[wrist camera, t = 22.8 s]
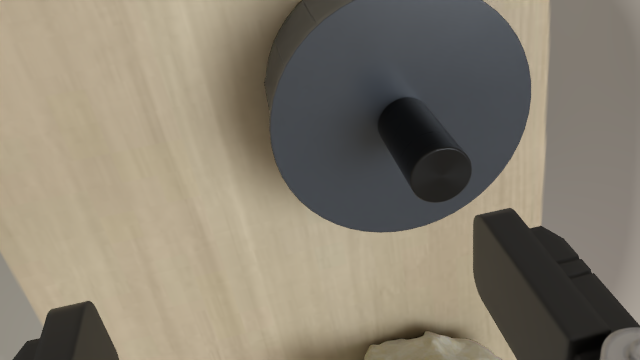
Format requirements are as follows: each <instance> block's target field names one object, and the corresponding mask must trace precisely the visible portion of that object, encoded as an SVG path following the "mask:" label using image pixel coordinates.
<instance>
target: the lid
mask: <svg viewBox="0 0 640 360" xmlns="http://www.w3.org/2000/svg"><path fill="white" fill-rule="evenodd" d="M530 101H531V79H530V72H529V65H528V62H527V59H526V55H525V52H524V49H523V47H522V45H521V43H520V41H519V39H518V37H517V35H516V34H515V32H514V31H513V29H512V28H511V26H510V25H509V23H508V22H507V21H506V20H505V19H504V18H503V17H502V16H501V15H500V14H499V13H498V12H497V11H496V10H495V9H493V8H492V7H491V6H489V5H488V4H487V3H485V2H484V1H482V0H348V1H346V2H344V3H342V4H341V5H339V6H337V7H336V8H335V9H333V10H332V11H330V12H329V13H328V14H326V15H325V16H324V17H322V18H321V19H320V20H319V21H318V22H317V23H316V24H315V25H314V26H313V27H312V28H310V29H309V30H308V31H307V33H306V34H305V35H304V36H303V37H302V39H301V40H300V41H299V42H298V43H297V45H296V46H295V47H294V49H293V51H292V52H291V54H290V55H289V57H288V59H287V60H286V62H285V64H284V66H283V68H282V70H281V72H280V75H279V77H278V79H277V82H276V86H275V89H274V92H273V95H272V101H271V107H270V116H269V131H270V140H271V147H272V150H273V154H274V158H275V161H276V164H277V167H278V169H279V171H280V173H281V176H282V178H283V179H284V181H285V182H286V184H287V185H288V187H289V189H290V190H291V191H292V192H293V193H294V195H295V196H296V197H297V198H298V199H299V200H300V201H301V202H302V203H303V204H304V205H305V206H307V207H308V208H309V209H310V210H311V211H313V212H315V213H316V214H318V215H319V216H321V217H322V218H324V219H326V220H328V221H331V222H333V223H335V224H337V225H340V226H343V227H347V228H350V229H355V230H360V231H366V232H396V231H403V230H409V229H413V228H417V227H421V226H425V225H427V224H430V223H433V222H435V221H438V220H440V219H442V218H444V217H446V216H448V215H450V214H452V213H454V212H456V211H458V210H459V209H461V208H462V207H464V206H465V205H467V204H468V203H470V202H471V201H472V200H474V199H475V198H476V197H477V196H479V195H480V194H481V193H482V192H483V191H484V190H485V189H486V188H487V187H488V186H489V185H490V184H491V183H492V182H493V181H494V180H495V179H496V178H497V177H498V175H499V174H500V173H501V172H502V171H503V169H504V168H505V166H506V165H507V163H508V162H509V160H510V159H511V157H512V156H513V154H514V152H515V150H516V148H517V146H518V144H519V142H520V140H521V137H522V134H523V132H524V129H525V126H526V122H527V118H528V115H529V109H530Z"/></svg>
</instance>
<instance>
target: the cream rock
mask: <svg viewBox="0 0 640 360" xmlns="http://www.w3.org/2000/svg"><path fill="white" fill-rule="evenodd" d="M364 360H502V359H501V358H499V357H498V356H496V355H495V354H494V353H493V352H492V351H491V350H490V349H488V348H486V347H485V346H483V345H481V344H480V343H478V342H476V341H473V340H470V339H459V338H450V337H448V336H444V335H438V334H436V333H433V332H429V331H426V332H425V333H424V335H423V336H422V337H419V338H414V339H410V340H405V339H398V340H392V341H386V342H383V343H382V344H380V345H371V346H370V347H369V349H368V351H367V353H366V355H365V357H364Z"/></svg>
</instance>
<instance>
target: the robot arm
mask: <svg viewBox="0 0 640 360" xmlns="http://www.w3.org/2000/svg"><path fill="white" fill-rule="evenodd" d="M473 273H474V279H475V284H476V287H477V290H478V293H479V295H480V297H481V299H482V301H483V303H484V304H485V306H486V308H487V309H488V311H489V313H490V315H491V316H492V318H493V320H494V321H495V323H496V325H497V326H498V328H499V330H500V331H501V333H502V335H503V336H504V338H505V340H506V342H507V343H508V345H509V347H510V348H511V350H512V352H513V353H514V355H515V357H516V358H517V360H640V325H639V324H638V323H637V322H636V321H635V320H634V319H633V317H632V316H631V315H630V314H629V313H628V312H627V311H626V309H625V308H624V307H623V306H622V305H621V304H620V303H619V302H618V300H617V299H616V298H615V297H614V296H613V295H612V293H611V292H610V291H609V290H608V289H607V288H606V287H605V286H604V284H603V283H602V282H601V281H600V280H599V279H598V277H597V276H596V275H595V274H594V273H593V274H592V273H591V269H590V268H589V267H588V266H587V265H586V264H585V263H584V261H583V260H582V259H579V256H578V254H577V253H576V252H575V251H574V250H573V249H572V248H571V247H570V245H569V244H568V243H567V242H566V241H565V240H564V239H563V238H561V237H560V236H558V235H556V234H555V233H553V232H551V231H549V230H547V229H546V228H544V227H542V226H539V227H534V228H530V229H529V228H528V226H527V225H526V224H525V223H524V222H523V220H522V219H521V218H520V217H519V215H518V214H517V213H516V212H515V211H514V210H513V209H511V208H508V209H503V210H499V211H494V212H490V213H485V214H481V215H477V216H475V218H474V222H473ZM13 360H119V358H118V354H117V352H116V349H115V347H114V345H113V343H112V341H111V339H110V337H109V335H108V332H107V330H106V328H105V326H104V324H103V322H102V320H101V318H100V316H99V314H98V311H97V309H96V307H95V306H94V304H93V303H92V302H90V301H86V302H82V303H77V304H73V305H68V306H64V307H59V308H55V309H51V310H50V311H49V312H48V314H47V317H46V320H45V324H44V327H43V330H42V334H41V337H40V338H39V339H35V340H30V341H27V342H26V343H25V344H24V346H23V347H22V348H21V350H20V351H19V352H18V354H17V355H16V356H15V357H14V359H13Z"/></svg>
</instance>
